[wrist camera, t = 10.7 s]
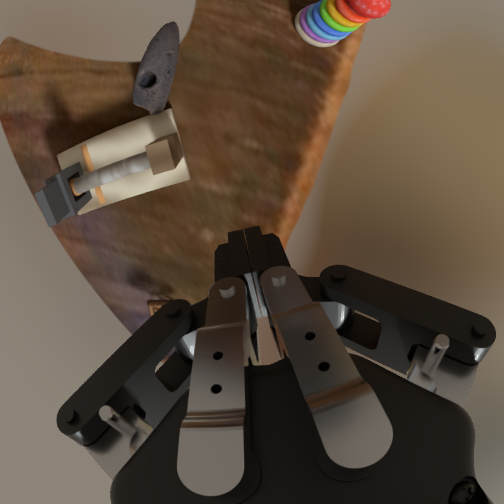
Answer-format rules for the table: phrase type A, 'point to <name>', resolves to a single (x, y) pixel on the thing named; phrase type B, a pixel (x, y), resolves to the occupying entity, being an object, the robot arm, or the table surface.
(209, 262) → the table surface
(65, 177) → the collar
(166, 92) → the perforated stone tool
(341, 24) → the stacking toy
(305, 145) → the table surface
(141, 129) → the pipe stand
